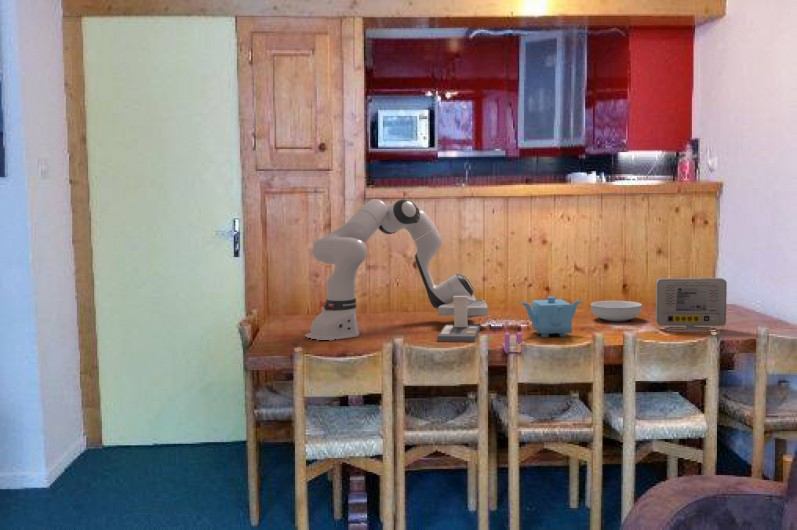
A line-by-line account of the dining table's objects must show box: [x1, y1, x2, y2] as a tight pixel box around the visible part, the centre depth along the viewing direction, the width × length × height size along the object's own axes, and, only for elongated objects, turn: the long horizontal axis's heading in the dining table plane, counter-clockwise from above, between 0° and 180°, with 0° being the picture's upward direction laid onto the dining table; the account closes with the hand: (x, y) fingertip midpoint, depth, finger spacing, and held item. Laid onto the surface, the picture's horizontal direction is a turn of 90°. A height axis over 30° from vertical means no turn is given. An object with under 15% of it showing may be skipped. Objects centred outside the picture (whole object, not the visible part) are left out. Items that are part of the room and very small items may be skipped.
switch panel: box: [437, 323, 481, 343], centre depth 323 cm, size 26×14×2 cm, turn 170°
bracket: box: [502, 332, 523, 354], centre depth 293 cm, size 13×6×7 cm, turn 179°
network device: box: [655, 277, 728, 333], centre depth 320 cm, size 26×9×20 cm, turn 80°
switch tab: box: [453, 296, 468, 327], centre depth 327 cm, size 3×6×12 cm, turn 80°
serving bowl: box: [590, 300, 643, 323], centre depth 347 cm, size 21×21×7 cm
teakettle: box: [520, 296, 584, 338], centre depth 317 cm, size 19×19×15 cm
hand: (461, 313), depth 330 cm, fingers closed
